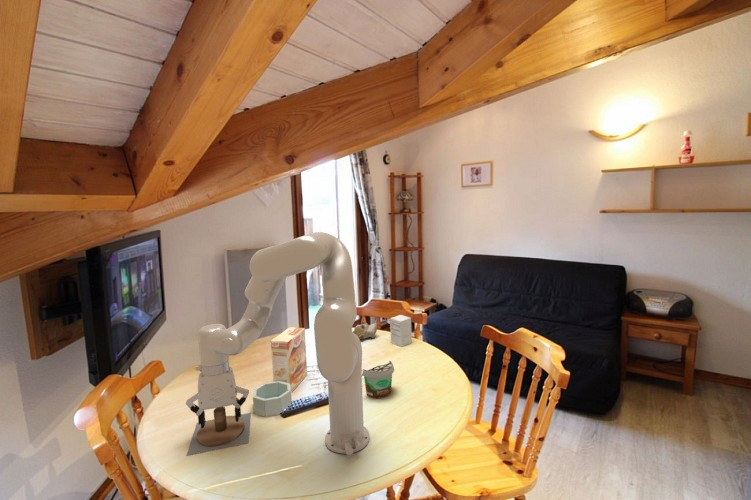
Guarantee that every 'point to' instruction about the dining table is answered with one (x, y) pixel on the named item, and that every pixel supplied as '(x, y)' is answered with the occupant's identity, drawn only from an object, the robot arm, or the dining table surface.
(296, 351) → the coffeecake box
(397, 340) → the white mini drawer cabinet
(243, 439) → the mat
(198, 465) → the dining table surface
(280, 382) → the bowl
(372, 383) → the food container
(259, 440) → the dining table surface
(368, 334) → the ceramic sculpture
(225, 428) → the lid
